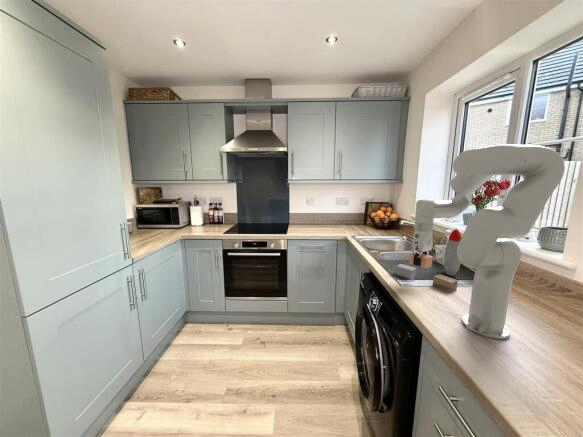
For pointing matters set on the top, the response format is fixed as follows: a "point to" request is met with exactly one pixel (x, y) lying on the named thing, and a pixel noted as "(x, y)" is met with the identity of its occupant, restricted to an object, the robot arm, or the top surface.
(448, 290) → the walnut brick
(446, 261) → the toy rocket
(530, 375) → the top surface
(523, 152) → the robot arm
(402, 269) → the slate-grey brick
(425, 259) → the terracotta brick
